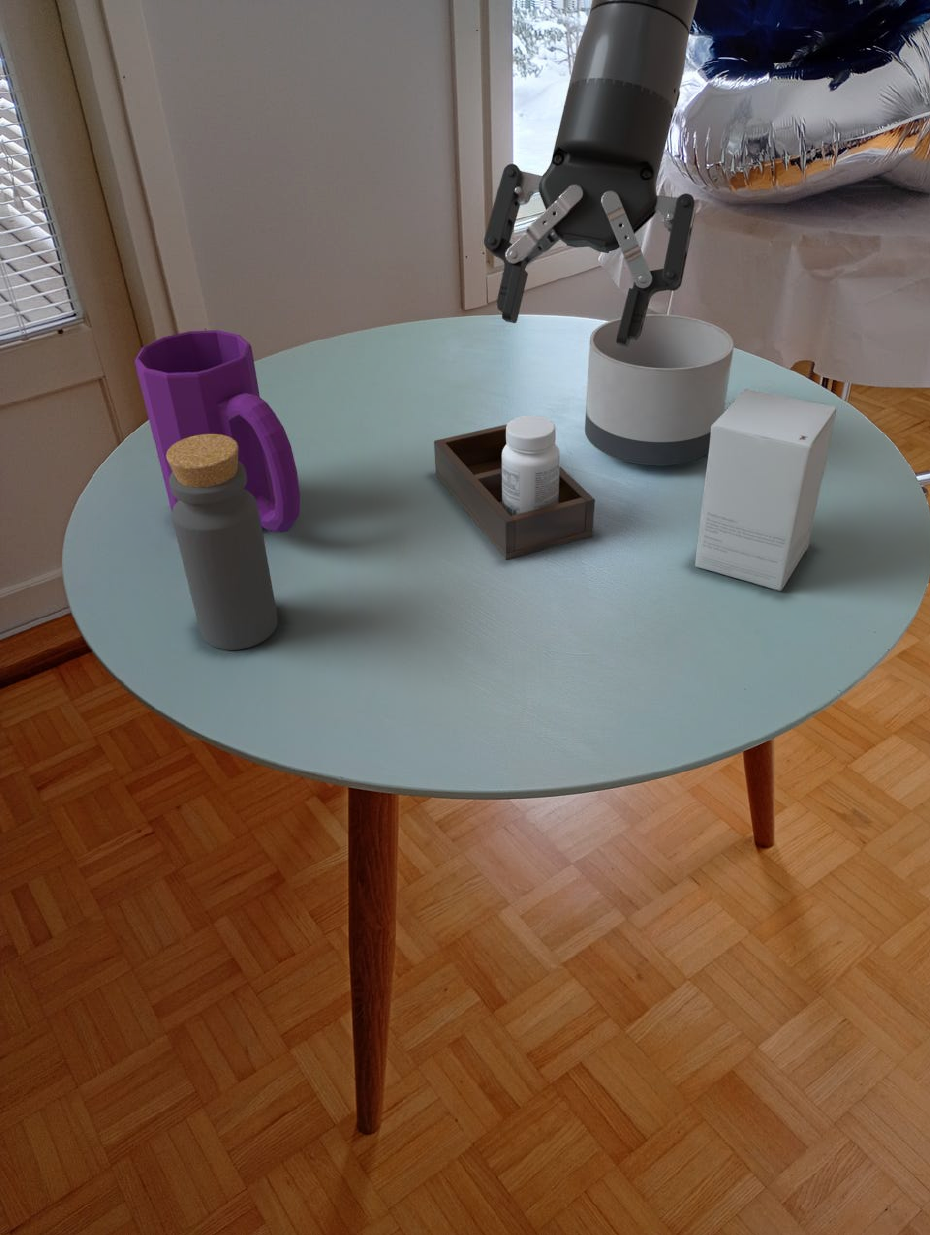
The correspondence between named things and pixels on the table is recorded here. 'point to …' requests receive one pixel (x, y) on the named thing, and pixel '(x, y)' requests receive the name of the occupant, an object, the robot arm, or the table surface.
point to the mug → (219, 414)
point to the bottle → (221, 542)
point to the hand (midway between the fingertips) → (565, 332)
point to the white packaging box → (762, 486)
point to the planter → (657, 389)
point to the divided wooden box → (477, 487)
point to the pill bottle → (530, 465)
